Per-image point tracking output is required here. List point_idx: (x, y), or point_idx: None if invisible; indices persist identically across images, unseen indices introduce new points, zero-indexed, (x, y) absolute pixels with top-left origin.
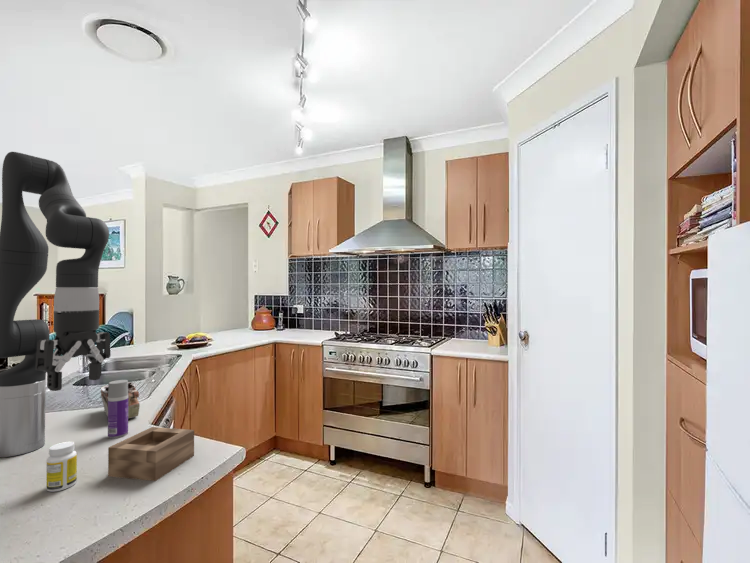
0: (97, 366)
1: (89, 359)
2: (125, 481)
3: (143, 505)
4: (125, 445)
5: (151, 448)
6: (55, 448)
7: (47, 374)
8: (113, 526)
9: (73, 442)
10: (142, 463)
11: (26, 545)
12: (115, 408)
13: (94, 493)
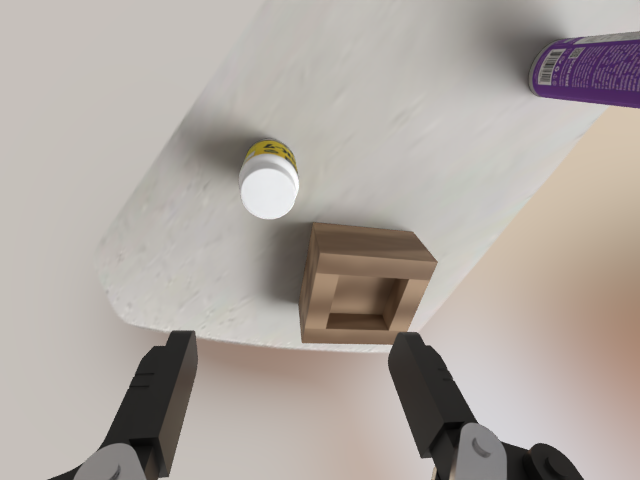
0: (415, 437)
1: (454, 461)
2: (295, 264)
3: (233, 328)
4: (329, 279)
5: (314, 330)
6: (247, 195)
7: (106, 437)
8: (183, 326)
9: (288, 210)
10: (304, 303)
11: (114, 261)
12: (613, 84)
13: (253, 244)
